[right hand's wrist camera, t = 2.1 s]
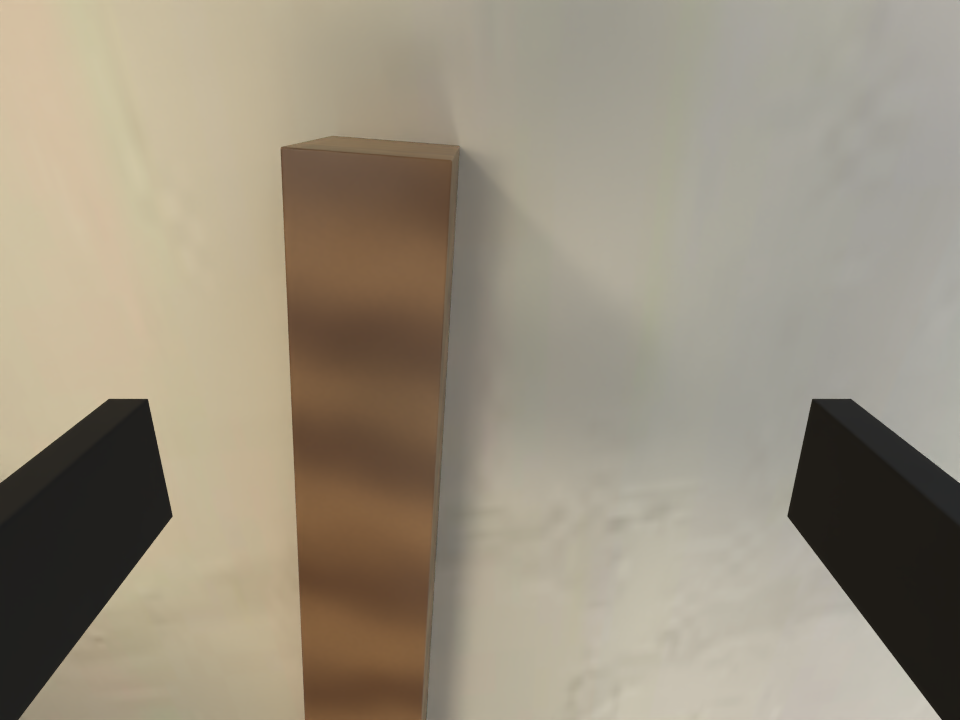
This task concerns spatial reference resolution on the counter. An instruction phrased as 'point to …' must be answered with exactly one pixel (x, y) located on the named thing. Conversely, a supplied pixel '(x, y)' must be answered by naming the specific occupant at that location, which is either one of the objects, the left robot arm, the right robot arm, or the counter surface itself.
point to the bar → (367, 411)
